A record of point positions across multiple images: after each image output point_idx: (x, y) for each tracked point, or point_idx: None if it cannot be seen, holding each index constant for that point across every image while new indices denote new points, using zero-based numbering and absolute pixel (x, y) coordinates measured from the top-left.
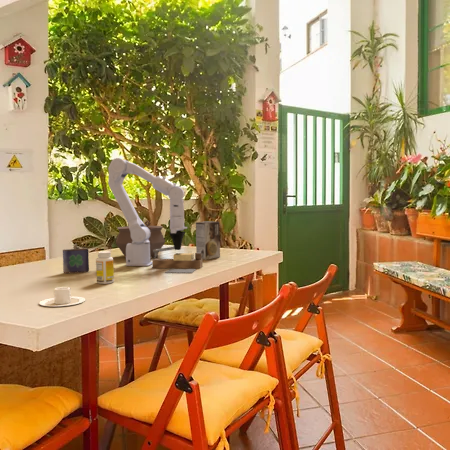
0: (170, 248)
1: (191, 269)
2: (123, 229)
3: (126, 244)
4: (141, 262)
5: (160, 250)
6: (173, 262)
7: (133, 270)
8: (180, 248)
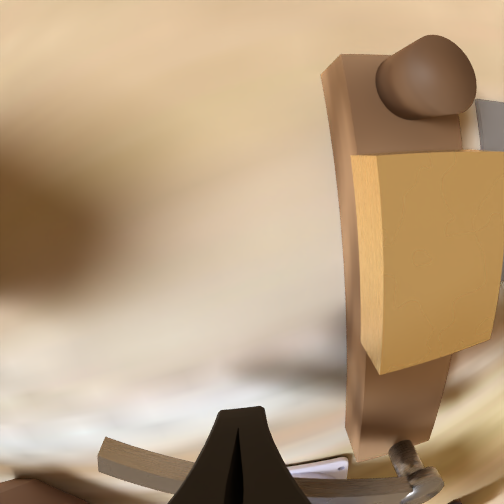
0: None
1: (496, 129)
2: None
3: None
4: None
5: (396, 483)
6: None
7: (463, 432)
8: (234, 415)
